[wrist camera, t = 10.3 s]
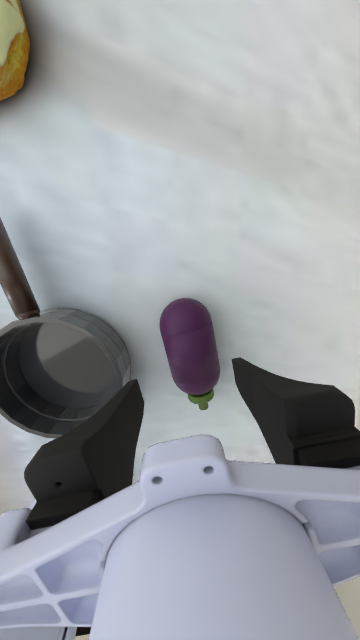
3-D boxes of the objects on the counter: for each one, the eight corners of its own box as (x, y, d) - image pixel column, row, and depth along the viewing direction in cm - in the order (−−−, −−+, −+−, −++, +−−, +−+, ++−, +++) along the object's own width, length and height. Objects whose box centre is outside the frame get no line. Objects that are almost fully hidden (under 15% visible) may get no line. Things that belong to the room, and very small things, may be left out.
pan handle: (47, 316, 18) (34, 321, 17) (29, 320, 18) (14, 326, 17) (-1, 201, 16) (-23, 193, 14) (-22, 207, 16) (-47, 199, 14)
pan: (144, 399, 24) (138, 424, 20) (42, 420, 24) (17, 449, 20) (111, 295, 20) (96, 303, 16) (-7, 322, 21) (-49, 335, 17)
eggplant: (151, 302, 20) (156, 310, 15) (197, 290, 21) (215, 295, 16) (177, 400, 23) (188, 432, 19) (215, 387, 24) (235, 415, 19)
